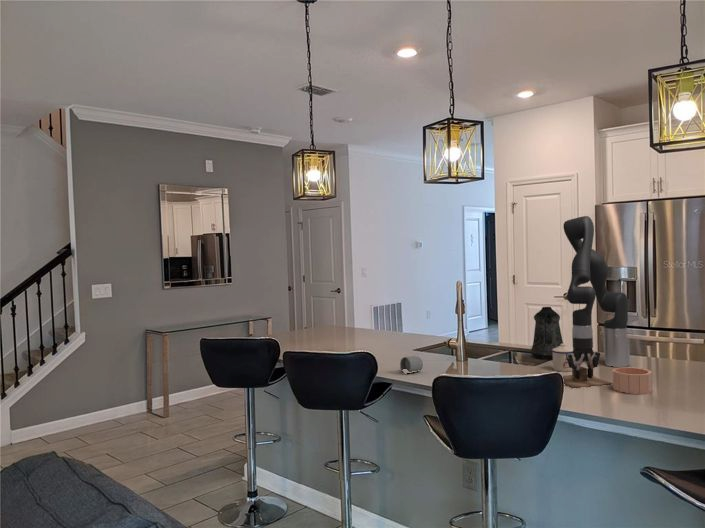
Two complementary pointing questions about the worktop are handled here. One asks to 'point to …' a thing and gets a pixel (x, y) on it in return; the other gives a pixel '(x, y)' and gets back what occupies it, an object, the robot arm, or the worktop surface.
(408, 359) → the ceramic mug
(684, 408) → the worktop surface
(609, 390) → the worktop surface
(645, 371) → the bowl
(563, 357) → the teacup with lid
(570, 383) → the lid
